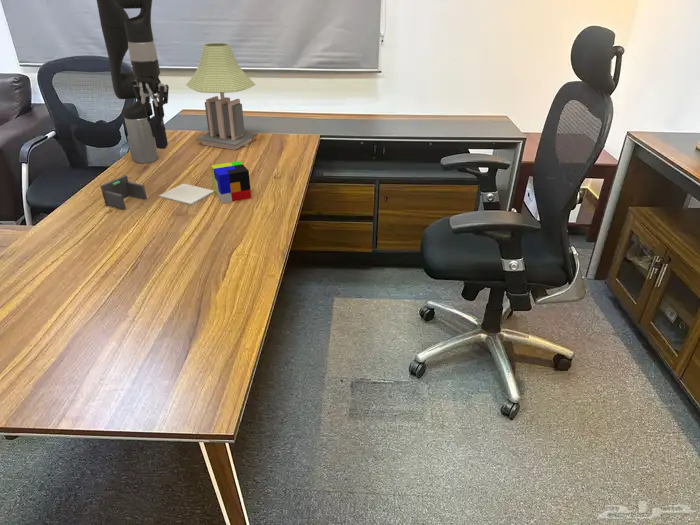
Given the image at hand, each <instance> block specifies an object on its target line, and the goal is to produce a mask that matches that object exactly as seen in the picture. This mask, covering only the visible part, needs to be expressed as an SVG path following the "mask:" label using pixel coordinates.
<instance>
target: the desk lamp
mask: <svg viewBox="0 0 700 525" xmlns="http://www.w3.org/2000/svg"><path fill="white" fill-rule="evenodd" d="M200 56H201V57H200V60H199V64H198V66H197V69H196V71H195V72H194V73H193V74H192V75H193V76H191V78H190V79H189V81H188V82H187V83H186V84H185V85H186V86H187V87H188V88H189V89H191V90H192V91H195V92H198V93H209V94H210V93H212V94H220V99H219V96H218V95H215V96H213V97H210V98H206V99H205V102H204V109H205V114H206V115H205V116H206V123H207V130H208V131H207V133H205V134H202V135H201V136H198V137H196V140H197V141H201V143H202V144H201V145H204V146H209V147H215V148H221V149H225V150H233V151H235V150H237V149H239V148H241V147H243V146H245V145H247V144H249V143H251V142H252V141H253V137H256V136H258V135H257V133H255V132H247V131H245V122H244V112H243V104H242V103H241V100H240V98H236V99H233V100H231V97H225V93H237V92H241V91H242V92H243V91H244V90H248V89H250V88H252V87H255V86H256V83H255V82H254V81H253V80H252V79H251V78H250V77H249V76H248V75H247V74H246V72H244V71H243V69H242V68H241V66H240V65H239V63H238V61H237V59H236V58H235V55H234V52H233V50H232V48H231V46H230V44H229V43H224V42H211V43H209V42H207V43H205V44H203V45H202V51H201V55H200Z"/></svg>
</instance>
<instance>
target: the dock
mask: <svg viewBox="0 0 700 525" xmlns="http://www.w3.org/2000/svg"><path fill="white" fill-rule="evenodd" d="M99 186H100V188H101V193H102V196H103V200H104V205H105V206H106V207H111V208H113V209H118V210H121V211H126V210H127V206H126V204H125V199H126V198H128V197H131V198H136V199H138V200H143V201H146V200H148V197H147V194H146V188H145V185H144V184H141V183H136V182H134V181H129V177H128V175H122V176H119V177H118V178H115V179H112V180H110V181H108V182H105V183H103V184H100V185H99Z"/></svg>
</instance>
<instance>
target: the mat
mask: <svg viewBox="0 0 700 525" xmlns="http://www.w3.org/2000/svg"><path fill="white" fill-rule="evenodd" d="M213 194H215V191H214V190H213V189H209V188H205V187H200V186H196V185H193V184H187V183H180V184H179V185H177V186H175V187H173V188H171V189H169V190H167V191H164V192H163V193H161V194H159V195H158V197H159V198H162V199H165V200H169V201H173V202H177V203H181V204H184V205H188V206H193V205H194V204H196V203H198V202H200V201H202V200H204V199H206V198H207V197H209V196H211V195H213Z"/></svg>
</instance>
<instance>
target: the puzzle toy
mask: <svg viewBox="0 0 700 525" xmlns="http://www.w3.org/2000/svg"><path fill="white" fill-rule="evenodd" d="M210 168H211V174H212V182H213V188H214V190H213V191H215V193H214V194H215V195H216V197H217V198H218V199H219V201H220V203H221V204H226V203H227V204H228V203H233V202H239V201H245V200H249V199H252V193H251V192H252V191H251V183H250V182H251V181H250V179H251V178H250V170H249V169H248V168H247V167H246V166H245V165H244V163H242V162H241V160H238V161H232V162H224V163H218V164H211V165H210Z"/></svg>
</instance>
